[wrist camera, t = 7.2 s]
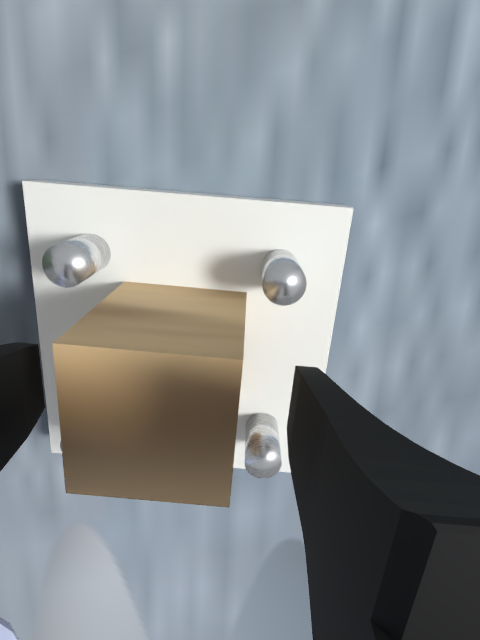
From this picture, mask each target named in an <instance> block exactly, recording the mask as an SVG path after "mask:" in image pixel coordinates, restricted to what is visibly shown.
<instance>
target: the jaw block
mask: <svg viewBox="0 0 480 640" xmlns="http://www.w3.org/2000/svg"><path fill="white" fill-rule="evenodd" d="M246 298H247V292H240V291H228V290H217V289H205V288H194V287H183V286H171V285H160V284H149V283H137V282H126V281H124V282H123V283H122V284H121V285H120V286H119V287H117V288H116V289H115V290H114V291H113V292H112V293H110V294H109V295H108V296H107V297H106V298H105V299H103V300H102V301H101V302H100V303H99V304H98V305H96V306H95V307H94V308H93V309H92V310H91V311H89V312H88V313H87V314H86V315H85V316H84V317H82V318H81V319H80V320H79V321H78V322H77V323H75V324H74V325H73V326H72V327H71V328H70V329H68V330H67V331H66V332H65V333H64V334H63V335H61V336H60V337H59V338H58V339H57V340H56V341H54V342H53V343H52V345H53V356H54V367H55V378H56V389H57V400H58V411H59V422H60V434H61V445H62V456H63V467H64V478H65V489H66V493H71V494H82V495H94V496H105V497H116V498H128V499H139V500H150V501H162V502H173V503H184V504H196V505H207V506H218V507H229V506H230V495H231V485H232V474H233V463H234V453H235V442H236V432H237V421H238V411H239V400H240V389H241V379H242V368H243V356H244V337H245V317H246Z"/></svg>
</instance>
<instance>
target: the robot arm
mask: <svg viewBox="0 0 480 640" xmlns="http://www.w3.org/2000/svg"><path fill="white" fill-rule="evenodd" d="M44 408H45V403H44V394H43V385H42V376H41V366H40V357H39V348H38V344H28V343H10V344H5V345H1V346H0V471H1V470H2V469H3V467H4V466H5V465H6V464H7V463H8V461H9V460H10V459H11V458H12V456H13V455H14V454H15V453H16V451H17V450H18V449H19V448H20V446H21V445H22V444H23V442H24V441H25V440H26V439H27V437H28V436H29V434H30V432H31V431H32V429H33V428H34V426H35V424H36V423H37V421H38V419H39V417H40V416H41V414H42V412H43V410H44ZM287 443H288V458H289V464H290V469H291V475H292V480H293V485H294V490H295V495H296V501H297V506H298V511H299V516H300V521H301V526H302V531H303V538H304V544H305V552H306V563H307V574H308V584H309V596H310V609H311V621H312V634H313V640H480V476H479V475H477V474H475V473H472V472H470V471H468V470H466V469H464V468H462V467H460V466H457V465H455V464H453V463H451V462H449V461H447V460H446V459H444V458H442V457H440V456H438V455H436V454H434V453H432V452H430V451H428V450H426V449H425V448H423V447H421V446H419V445H418V444H416V443H414V442H412V441H411V440H409V439H408V438H406V437H405V436H403V435H401V434H400V433H398V432H397V431H395V430H393V429H392V428H390V427H389V426H388V425H386V424H385V423H383V422H382V421H381V420H379V419H378V418H377V417H375V416H374V415H373V414H371V413H370V412H369V411H367V410H366V409H365V408H364V407H362V406H361V405H360V404H359V403H357V402H356V401H355V400H354V399H353V398H352V397H350V396H349V395H348V394H347V393H346V392H345V391H344V390H342V389H341V388H340V387H339V386H338V385H337V384H336V383H335V382H334V381H333V380H331V379H330V378H329V377H328V376H327V375H326V374H325V373H324V372H323V371H321V370H320V369H319V368H317V367H307V366H295V372H294V379H293V386H292V393H291V400H290V407H289V415H288V422H287ZM0 640H19V639H18V637H17V635H16V633H15V631H14V630H13V628H12V626H11V624H10V623H9V622H7V621H6V620H4V619H3V618H1V617H0Z"/></svg>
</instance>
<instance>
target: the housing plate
mask: <svg viewBox="0 0 480 640" xmlns="http://www.w3.org/2000/svg"><path fill="white" fill-rule="evenodd" d="M22 184H23V193H24V203H25V212H26V221H27V230H28V240H29V249H30V258H31V267H32V277H33V286H34V295H35V304H36V314H37V323H38V332H39V341H40V351H41V360H42V369H43V378H44V388H45V397H46V406H47V415H48V425H49V434H50V443H51V452H52V453H62V445H61V434H60V422H59V411H58V400H57V389H56V378H55V367H54V356H53V345H52V343H53V342H54V341H56V340H57V339H58V338H59V337H60V336H61V335H63V334H64V333H65V332H66V331H67V330H68V329H70V328H71V327H72V326H73V325H74V324H75V323H77V322H78V321H79V320H80V319H81V318H82V317H84V316H85V315H86V314H87V313H88V312H89V311H91V310H92V309H93V308H94V307H95V306H96V305H98V304H99V303H100V302H101V301H102V300H103V299H105V298H106V297H107V296H108V295H109V294H110V293H112V292H113V291H114V290H115V289H116V288H117V287H119V286H120V285H121V284H122V283H123V282H124V281H126V282H137V283H149V284H160V285H171V286H183V287H194V288H205V289H217V290H228V291H240V292H247V298H246V317H245V337H244V356H243V368H242V379H241V389H240V400H239V411H238V421H237V432H236V442H235V453H234V463H233V468H242V469H246V470H247V471H248V472H249V473H250V474H251V475H252V476H255V477H258V478H269V477H272V476H274V475H275V474H277V473H278V472H290V473H291V469H290V464H289V458H288V443H287V422H288V415H289V407H290V400H291V393H292V386H293V379H294V372H295V366H307V367H317V368H319V369H320V370H321V371H323V372H324V373H326V367H327V361H328V355H329V349H330V344H331V338H332V332H333V326H334V320H335V314H336V308H337V303H338V297H339V291H340V285H341V279H342V273H343V267H344V262H345V256H346V250H347V244H348V238H349V232H350V226H351V220H352V215H353V209H354V208H352V207H349V206H346V205H339V204H327V203H315V202H303V201H291V200H279V199H266V198H254V197H242V196H230V195H218V194H206V193H193V192H181V191H169V190H157V189H145V188H133V187H120V186H108V185H96V184H84V183H72V182H60V181H47V180H31V181H22Z"/></svg>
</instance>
